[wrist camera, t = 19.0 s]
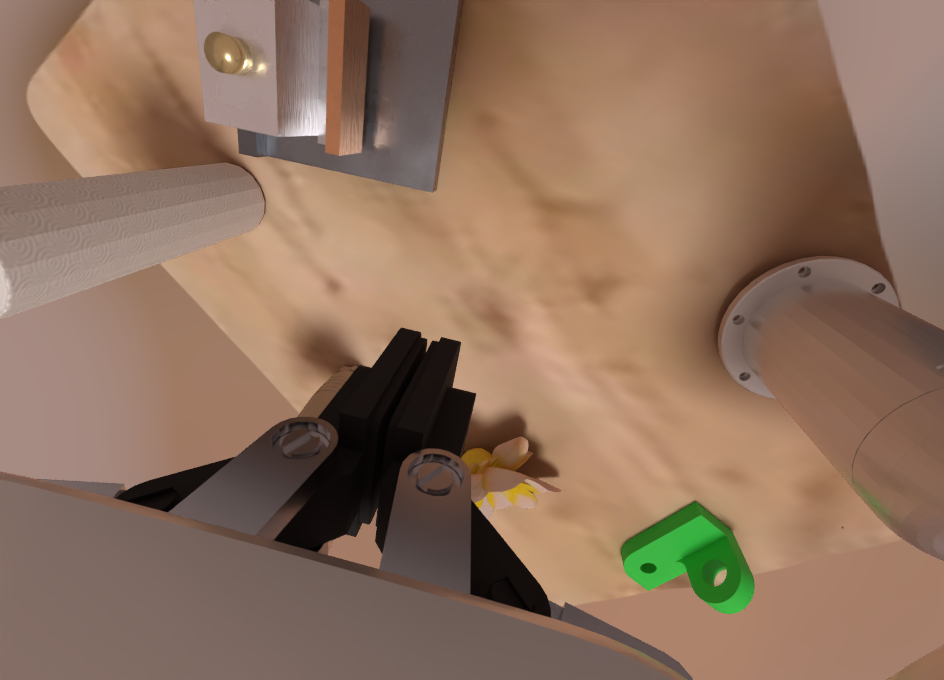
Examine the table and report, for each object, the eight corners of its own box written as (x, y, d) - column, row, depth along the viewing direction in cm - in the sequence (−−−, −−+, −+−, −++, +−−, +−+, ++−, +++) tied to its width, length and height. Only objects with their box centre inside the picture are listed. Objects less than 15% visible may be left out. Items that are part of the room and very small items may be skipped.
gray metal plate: (463, -2, 30) (455, -15, 27) (436, 190, 36) (427, 195, 33) (253, -43, 31) (225, -60, 28) (261, 151, 37) (239, 153, 34)
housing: (329, 11, 30) (258, -27, 23) (326, 135, 34) (264, 137, 26) (262, -3, 31) (169, -45, 23) (266, 122, 34) (188, 120, 27)
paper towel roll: (244, 151, 37) (-71, 177, 18) (279, 220, 39) (31, 307, 20) (181, 179, 39) (-163, 227, 20) (217, 242, 41) (-61, 341, 22)
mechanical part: (695, 500, 46) (722, 567, 39) (731, 530, 47) (764, 600, 40) (610, 549, 52) (620, 616, 44) (644, 575, 53) (660, 644, 46)
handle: (390, 377, 45) (325, 481, 32) (351, 406, 48) (276, 514, 34) (357, 344, 44) (275, 438, 31) (319, 375, 46) (228, 475, 33)
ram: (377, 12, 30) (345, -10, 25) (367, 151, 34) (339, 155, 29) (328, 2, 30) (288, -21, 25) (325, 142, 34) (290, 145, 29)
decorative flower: (451, 517, 53) (433, 595, 44) (405, 449, 49) (374, 519, 40) (567, 487, 48) (573, 569, 39) (526, 409, 44) (521, 480, 35)
